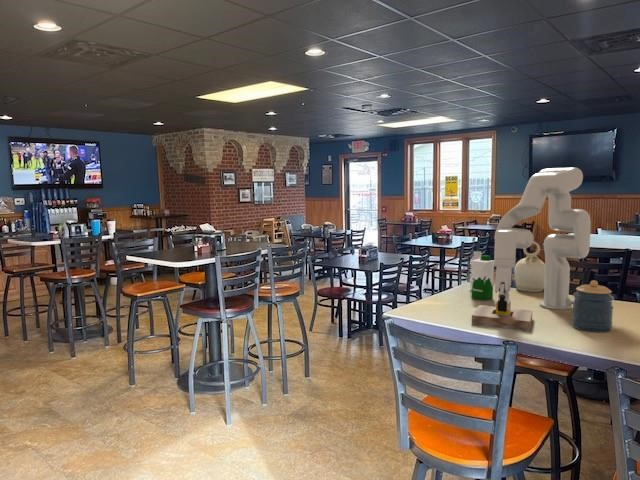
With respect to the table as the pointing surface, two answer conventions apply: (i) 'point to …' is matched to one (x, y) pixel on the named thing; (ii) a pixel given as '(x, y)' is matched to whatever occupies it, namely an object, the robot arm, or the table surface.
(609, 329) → the canister
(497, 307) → the supplement bottle
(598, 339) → the table surface
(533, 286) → the jug
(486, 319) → the socket block
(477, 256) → the plastic bottle
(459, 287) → the table surface
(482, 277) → the milk carton
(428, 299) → the table surface
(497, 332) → the table surface
